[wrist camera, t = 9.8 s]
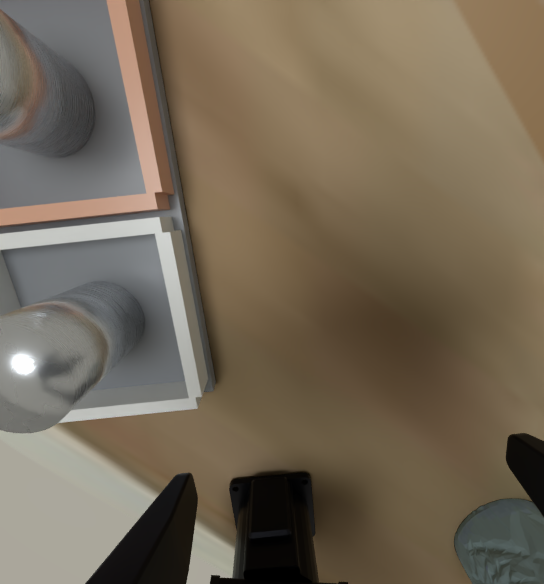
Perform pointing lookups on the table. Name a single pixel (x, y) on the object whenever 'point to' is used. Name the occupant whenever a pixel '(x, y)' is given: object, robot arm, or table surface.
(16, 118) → the steel billet
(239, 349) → the table surface
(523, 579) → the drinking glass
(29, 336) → the billet
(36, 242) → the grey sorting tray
